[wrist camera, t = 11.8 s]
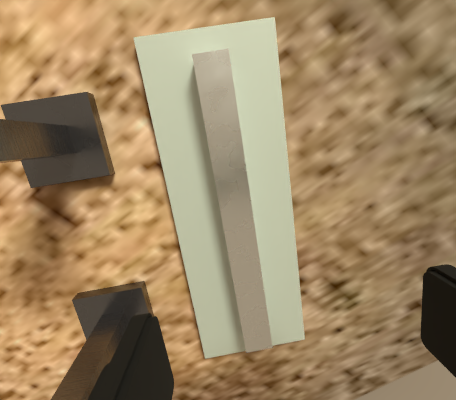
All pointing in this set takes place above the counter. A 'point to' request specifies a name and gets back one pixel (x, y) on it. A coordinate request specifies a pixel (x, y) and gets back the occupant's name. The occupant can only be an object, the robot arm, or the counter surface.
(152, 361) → the robot arm
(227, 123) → the rail
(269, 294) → the board
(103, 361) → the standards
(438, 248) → the counter surface
